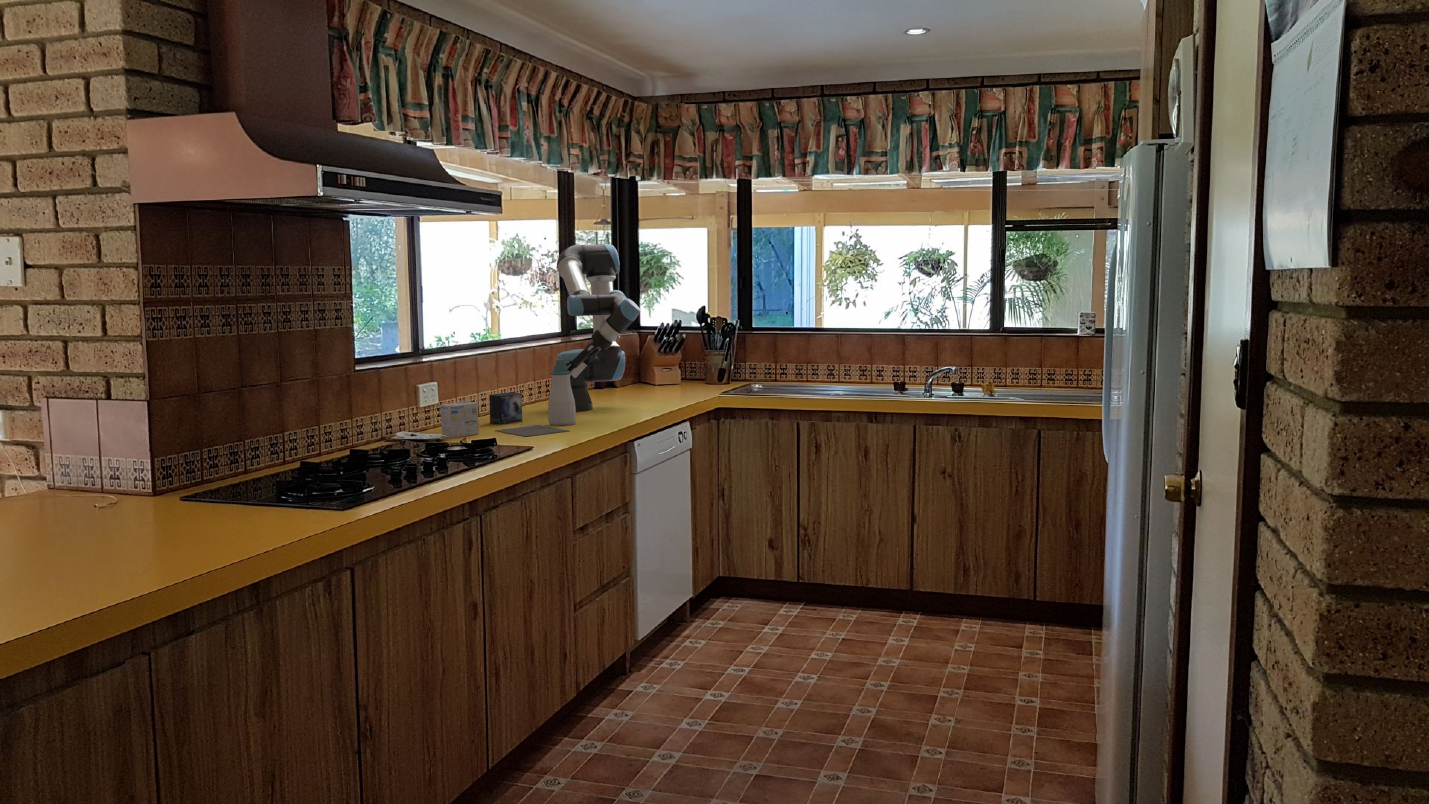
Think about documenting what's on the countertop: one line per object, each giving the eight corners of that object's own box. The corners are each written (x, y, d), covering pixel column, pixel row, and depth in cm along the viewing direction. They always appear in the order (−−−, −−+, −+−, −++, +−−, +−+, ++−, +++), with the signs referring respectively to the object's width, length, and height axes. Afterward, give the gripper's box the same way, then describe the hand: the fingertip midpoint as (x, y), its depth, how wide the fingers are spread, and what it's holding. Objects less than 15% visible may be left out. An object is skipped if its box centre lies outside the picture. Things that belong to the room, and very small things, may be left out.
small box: (501, 424, 381) (500, 395, 380) (489, 423, 385) (487, 394, 384) (523, 421, 389) (522, 392, 388) (511, 420, 393) (510, 391, 392)
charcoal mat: (538, 425, 376) (538, 424, 376) (569, 431, 361) (569, 430, 361) (495, 431, 365) (495, 430, 365) (525, 436, 350) (525, 435, 350)
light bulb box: (468, 432, 363) (467, 401, 362) (479, 434, 358) (478, 402, 357) (440, 436, 356) (439, 404, 354) (451, 438, 351) (449, 405, 349)
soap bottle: (578, 425, 376) (576, 360, 373) (550, 426, 373) (548, 361, 370) (573, 421, 385) (571, 358, 382) (546, 423, 382) (543, 359, 380)
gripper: (604, 344, 373) (564, 388, 378) (621, 340, 398) (584, 381, 402) (588, 329, 374) (549, 373, 378) (607, 326, 398) (569, 367, 402)
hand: (567, 377), depth 390 cm, fingers open, 13 cm apart
